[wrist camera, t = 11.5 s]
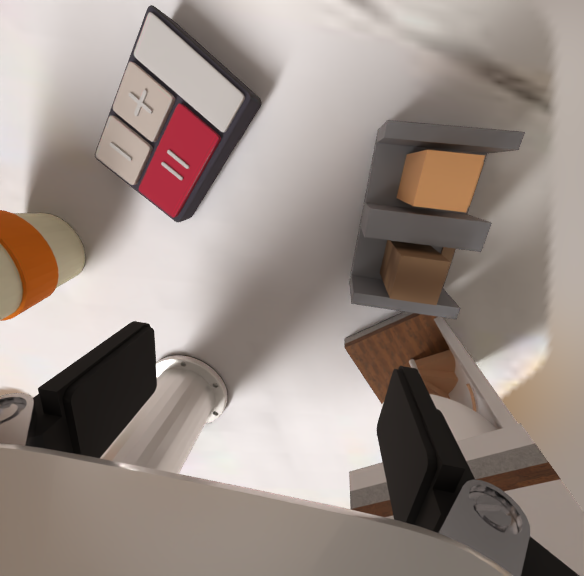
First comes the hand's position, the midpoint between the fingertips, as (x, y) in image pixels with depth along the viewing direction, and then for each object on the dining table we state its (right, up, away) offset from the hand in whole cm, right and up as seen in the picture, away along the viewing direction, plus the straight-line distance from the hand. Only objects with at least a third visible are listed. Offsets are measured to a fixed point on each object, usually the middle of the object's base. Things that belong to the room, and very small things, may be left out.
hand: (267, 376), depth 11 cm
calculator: (-11, +20, +20) cm, 30 cm away
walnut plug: (+13, +7, +20) cm, 25 cm away
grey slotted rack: (+13, +11, +19) cm, 26 cm away
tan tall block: (+14, +14, +17) cm, 26 cm away
